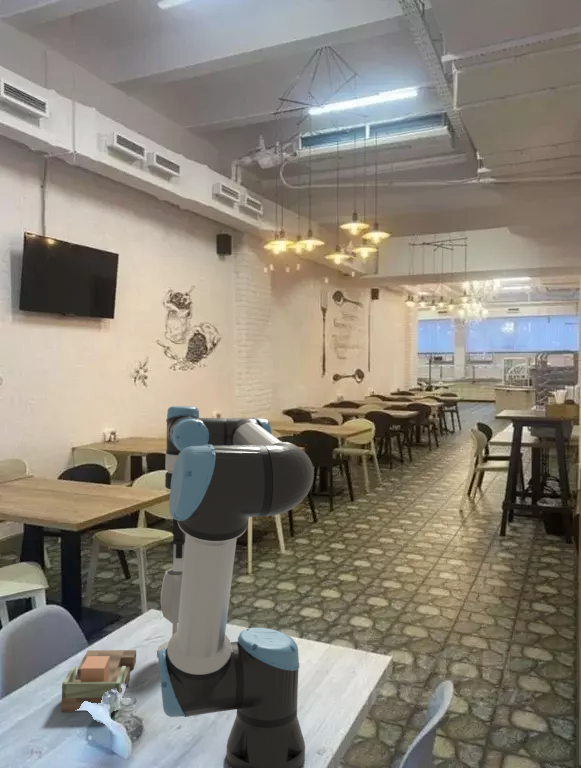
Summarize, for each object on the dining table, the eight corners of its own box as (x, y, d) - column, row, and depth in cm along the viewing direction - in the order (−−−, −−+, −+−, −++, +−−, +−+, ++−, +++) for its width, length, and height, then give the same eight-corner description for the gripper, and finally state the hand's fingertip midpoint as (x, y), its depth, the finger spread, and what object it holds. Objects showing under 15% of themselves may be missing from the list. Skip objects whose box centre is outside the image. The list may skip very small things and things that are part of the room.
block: (103, 690, 137) (104, 668, 137) (80, 691, 136) (80, 668, 136) (109, 677, 143) (109, 655, 142) (86, 677, 142) (87, 656, 142)
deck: (118, 710, 134) (119, 683, 134) (61, 711, 133) (62, 684, 133) (135, 661, 157) (136, 638, 157) (87, 662, 156) (87, 638, 156)
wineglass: (194, 645, 168) (196, 567, 167) (186, 659, 159) (188, 578, 159) (163, 642, 169) (165, 565, 168) (153, 657, 160) (155, 576, 160)
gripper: (195, 476, 141) (193, 579, 142) (199, 467, 154) (196, 562, 155) (162, 475, 141) (159, 579, 141) (168, 467, 154) (166, 562, 154)
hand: (179, 570), depth 148 cm, fingers closed
